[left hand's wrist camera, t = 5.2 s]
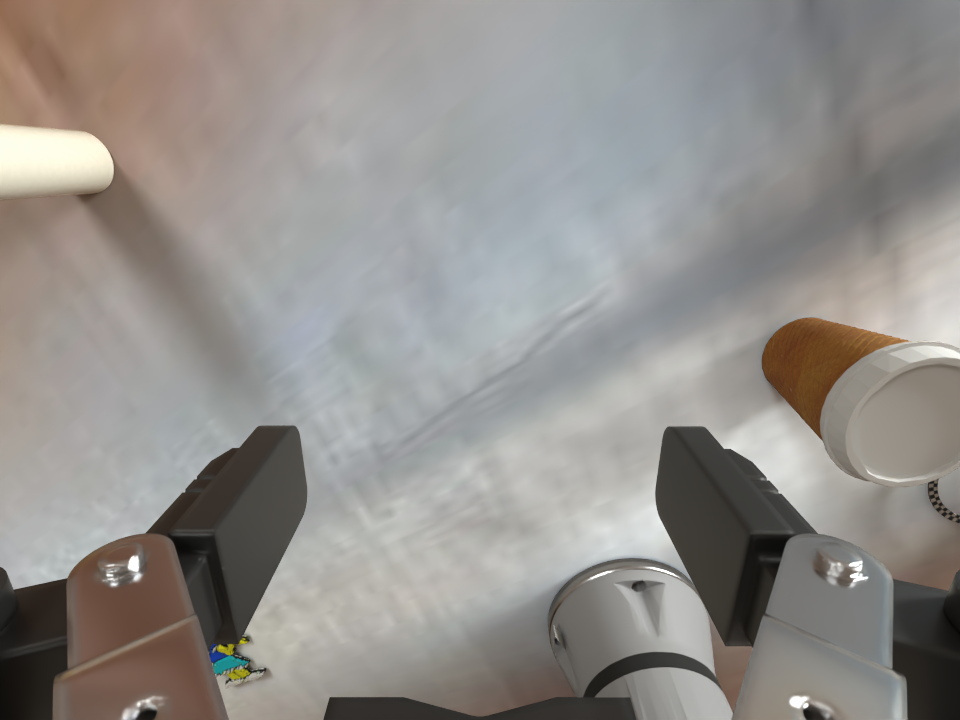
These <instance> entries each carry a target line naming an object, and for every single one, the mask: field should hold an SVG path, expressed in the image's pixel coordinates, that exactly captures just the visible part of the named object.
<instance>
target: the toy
mask: <svg viewBox="0 0 960 720" xmlns="http://www.w3.org/2000/svg"><path fill="white" fill-rule="evenodd" d="M248 641H250V640H249V638H248V637H247V636H244V635H243V636H242V638H241V640H240V642H239V644H238V645H240V644H242V643H243V644H246V643H247V642H248ZM232 645H233V646H232ZM235 646H236V644H212V646H211V648H210V650H209V651H208V653H209V656H210V660H211V663H213V669H214V673H215V674H216V677H217V676H218V675H219V674H220V676H221V675H222V674H223V675H224V674H225V673H226V672H227V675H228V676H229V677H230V678H229V679H228V680H226V684H225V688H229V687H232V686H235V685H238V684H241V683H242V682H243V681H244V682H247V681H250V680H251V681H253V680H256V679H258V678H259V677H262V675H263V674H264V673H265V671H266V668H258V669H254V670H251V669H250V668H249V667H247V665H248V663H249V662H250V660H249V659H246V658H244V657H242V656H238V655H234V652H235V651H236V648H235ZM230 651H231V653H230ZM223 654H225V655H223ZM216 660H217V661H216ZM238 662H239V663H238ZM240 670H241V671H240ZM242 671H243V672H244V673H243V672H242Z"/></svg>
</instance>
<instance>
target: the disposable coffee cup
mask: <svg viewBox="0 0 960 720" xmlns="http://www.w3.org/2000/svg"><path fill="white" fill-rule="evenodd" d="M762 368H763V371H764V374H765V376H766V378H767V380H768V381H769V382H770V383H771V384H772V385H773V386H774V387H775V388H776V389H777V390H778V392H779V393H780V394H781V395H782V396H783V397H784V398H785V400H786V401H787V402H788V403H789V404H790V405H791V406H792V407H793V409H794V410H795V411H796V412H797V413H798V414H799V415H800V416H801V418H802V419H803V420H804V421H805V422H806V423H807V424H808V425H809V426H810V427H811V429H812V430H813V431H814V432H815V433H816V434H817V435H818V436H819V438H820V439H821V440H822V441H823V443H824V445H825V449H826V451H827V453H828V454H829V456H830V458H831V459H832V460H833V462H834V463H835V464H836V465H837V466H838V467H839V468H840V469H841V470H843V471H844V472H845V473H847V474H849V475H851V476H853V477H855V478H858V479H861V480H865V481H871V482H874V483H876V484H880V485H884V486H888V487H910V486H916V485H922V484H925V483H928V482H931V481H934V480H937V479H939V478H941V477H943V476H945V475H947V474H949V473H951V472H952V471H954V470H956V469H957V468H958V467H960V349H959V348H957V347H954V346H952V345H949V344H945V343H941V342H933V341H918V342H911V341H908V340H903V339H900V338H895V337H892V336H885V335H884V334H878V333H875V332H871V331H866V330H863V329H857V328H855V327H851V326H846V325H842V324H838V323H833V322H830V321H826V320H822V319H819V318H802V319H798V320H795V321H793V322H791V323H788V324H786V325H785V326H783V327H782V328H780V329H779V330H778V331H777V332H776V333H775V334H774V335H773V336H772V337H771V339H770V340H769V341H768V343H767V345H766V347H765V350H764V353H763V357H762Z"/></svg>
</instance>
